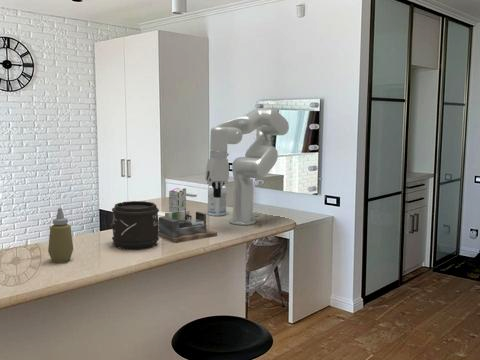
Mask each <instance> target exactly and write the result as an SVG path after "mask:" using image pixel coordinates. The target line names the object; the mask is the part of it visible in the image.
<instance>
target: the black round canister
mask: <svg viewBox="0 0 480 360" xmlns="http://www.w3.org/2000/svg"><path fill="white" fill-rule="evenodd" d="M111 211H112V222H111V223H110V229H112V237H111V240H112V241H113V244H114V245H115V247H116V248H118V249H122V250H126V251H127V250H134V251H137V250H139V251H140V250H144V249H145V250H146V249H150V248H153V247H154V246H156V245H157V242H159V240H160V238H159V236H158V231H159V212H160V210H159V208H158V207H157V205H156V203H155V202H151V201H142V200H141V201H140V200H139V201H137V200H130V201H123V202H117V203H115V204H114V207H112V208H111Z"/></svg>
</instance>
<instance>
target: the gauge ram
mask: <svg viewBox="0 0 480 360" xmlns="http://www.w3.org/2000/svg"><path fill="white" fill-rule="evenodd" d="M187 216H188V217H189V220H187ZM199 225H207V213H204V212H200V211H195V218H193V217H192V215H191V214H189V215H187V214H186V220H184V228H185V227H192V226H199Z"/></svg>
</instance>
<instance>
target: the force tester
mask: <svg viewBox="0 0 480 360" xmlns="http://www.w3.org/2000/svg"><path fill="white" fill-rule="evenodd" d="M186 214H187V215H190V210H189V209H188V210H187V209H186V211H178V212H169V211H168V212H165V213H164V216H158V220H159V229H158V238H159V237H160V238H161V237H162V238H161V239H164V240H166V239H167V241H168V242H172V243H174V244H175V243H176V244H177V243H182V242H188V241H189V242H190V241H194V240H200V239H206V238H211V237H212V238H213V237H217V236H218V232H217V231H215V230H211V229H209V228H207V226H208V225H207V224H206V225H199V226H192V227H185V228H184V220H186ZM187 220H190V217H188V216H187Z"/></svg>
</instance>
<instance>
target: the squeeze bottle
mask: <svg viewBox="0 0 480 360" xmlns="http://www.w3.org/2000/svg"><path fill="white" fill-rule="evenodd" d="M63 211H64V210H63V208H62V207H59V208H58V209H57V213H56V217H55V218H53V219H52V225H51V226H50V227H49V236H48V237H49V238H48V248H47V249H48V251H47V252H48V255H49V256H50V257H49V258H50V259H51V261H52V262H54V263H65V262H69V261H71V258H72V255H73V252H74V243H73V235H72V228H71V227H72V226H71V225H70V224H68V223H69V222H68V221H69V219H68V218H67V217H65V215H64V212H63Z"/></svg>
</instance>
